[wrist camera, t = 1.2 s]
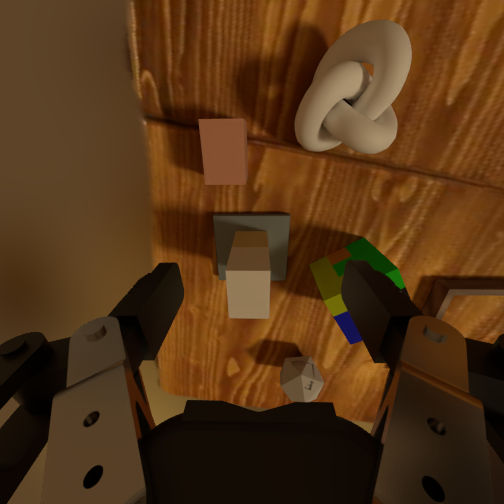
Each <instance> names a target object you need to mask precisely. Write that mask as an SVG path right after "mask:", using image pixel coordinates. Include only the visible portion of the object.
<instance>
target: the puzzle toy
mask: <svg viewBox="0 0 504 504" xmlns="http://www.w3.org/2000/svg"><path fill="white" fill-rule="evenodd" d="M348 260H366V261H367V262H368V263H369V264H370V265H371V266H372V268H373V269H374V270H378V271H380V272H382V273H383V274H385V275H387V276H388V277H390V279H391V280H392V281H393V282H394V283H395V284H396V286H398V287H399V288H400V289H401V290H402V293H404V294H405V295H406V296H407V297H408V298H409V299H410V297H409V294H408V292H407V289H406V287H405V284H404V282H403V279H402V277H401V274H400V272H399V269H398V268H397V267H396V266H395V265H394V264H393V263H392V262H390V261H389V260H388V259H387V258H386V257H385V256H384V255H383V254H382V253H381V252H379V251H378V250H377V249H376V248H375V247H374V246H373V245H372V244H371V243H370V242H368V241H367V240H366V239H365V238H364V237H363V238H361V239H359V240H357V241H355V242H353V243H351V244H349V245H347V246H345V247H343V248H341V249H339V250H337V251H335V252H333V253H331V254H329V255H327V256H325V257H323V258H321V259H319V260H317V261H315V262H313V263H311V264H309V266H310V269H311V271H312V274H313V276H314V278H315V281H316V283H317V286H318V288H319V291H320V293H321V296H322V298H323V301H324V303H325V304H326V306H327V307H328V309H329V311H330V312H331V314H332V315H333V317H334V319H335V320H336V322H337V324H338V325H339V327H340V328H341V330H342V332H343V333H344V335H345V336H346V338H347V340H348V341H349V343H350V345H351V344H354V343H357V342H360V341H362V338H361V336H360V334H359V332H358V330H357V328H356V326H355V324H354V322H353V320H352V318H351V316H350V314H349V312H348V310H347V308H346V306H345V304H344V302H343V300H342V297H341V285H342V280H343V275H344V269H345V264H346V262H347V261H348Z"/></svg>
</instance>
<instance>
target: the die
mask: <svg viewBox="0 0 504 504" xmlns="http://www.w3.org/2000/svg"><path fill="white" fill-rule="evenodd" d="M280 384H281V387H282V389H283V390H284V391H285V393H286V394H287V396H288V397H289V398H290V400H292V401H296V402H310V401H312V400H314V399H316V398H317V396H318V394H319V392H320V390H321V388H322V386H323V384H324V382H323V380H322V377H321V375H320V372H319V370H318V368H317V367H316V365H315V363H314V361H313V360H312V358H311V356H303V357H291V358H285V361H284V363H283V366H282V369H281V372H280Z"/></svg>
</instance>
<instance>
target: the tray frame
mask: <svg viewBox="0 0 504 504" xmlns="http://www.w3.org/2000/svg"><path fill="white" fill-rule="evenodd" d="M454 295H502V296H504V280H481V279H436V281H435V284H434V286H433V288H432V290H431V293H430V295H429V297H428V299H427V301H426V304H425V306H424V308H423V310H422V313H423V314H424V315H425V316H430V317H434V318H437V319H440V320H441V319H442V317H443V315H444V313H445V312H446V310H447V308H448V306H449V304H450V302H451V300H452V298H453V296H454Z"/></svg>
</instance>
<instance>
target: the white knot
mask: <svg viewBox="0 0 504 504" xmlns="http://www.w3.org/2000/svg"><path fill="white" fill-rule="evenodd" d="M411 59H412V49H411V45H410V40H409V37H408V35H407V34H406V32H405V30H404V29H403V28H402V27H401V26H400V25H398V24H397V23H396V22H392V21H389V20H375V21H369V22H366V23H363V24H360V25H357V26H356V27H354V28H352V29H350V30H348V31H347V32H346V33H345V34H343V35H342V36H341V37H340V38H338V39H337V40H336V41H335V43H334V44H333V45H332V46H331V47H330V48H329V49H328V51H327V52H326V53H325V55H324V56H323V58H322V60H321V61H320V63H319V65H318V67H317V70H316V72H315V75H314V78H313V81H312V85H311V86H310V87H309V89H308V90H307V92H306V93H305V95H304V97H303V99H302V101H301V103H300V105H299V108H298V111H297V114H296V117H295V123H294V124H295V134H296V138H297V141H298V142H299V143H300V145H301V146H303V147H304V148H305V149H307V150H309V151H325V150H328V149H331V148H333V147H336V146H338V145H339V144H341V143H344V144H345V145H346V146H348V147H349V148H351V149H353V150H355V151H357V152H361V153H369V154H375V153H378V152H381V151H383V150H385V149H386V148H388V147H389V146H390V144H391V143H392V142H393V141H394V139H395V137H396V133H397V119H396V116H395V113H394V111H393V109H392V107H391V105H390V104H391V103H392V102H393V101H394V100H395V98H396V97H397V96H398V94H399V92H400V91H401V89H402V87H403V85H404V83H405V81H406V78H407V75H408V72H409V69H410V65H411ZM362 62H364V63H369V64H372V65H373V67H374V74H373V78H372V77H371V76H370V74H369V73H368V72H367V70H366V69H365V68H364V66H363V65H362V64H361V63H362ZM343 99H346V100H347V101H348V102H349V103H350V104H351V105H352V106H350V105H349V104H347V103H346V102H345V101H344V100H343ZM321 124H322V125H323V126H321Z"/></svg>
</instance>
